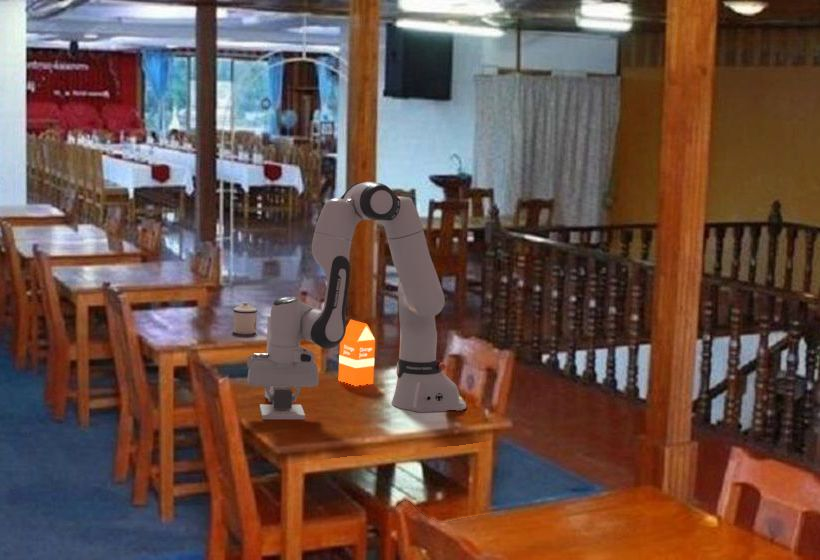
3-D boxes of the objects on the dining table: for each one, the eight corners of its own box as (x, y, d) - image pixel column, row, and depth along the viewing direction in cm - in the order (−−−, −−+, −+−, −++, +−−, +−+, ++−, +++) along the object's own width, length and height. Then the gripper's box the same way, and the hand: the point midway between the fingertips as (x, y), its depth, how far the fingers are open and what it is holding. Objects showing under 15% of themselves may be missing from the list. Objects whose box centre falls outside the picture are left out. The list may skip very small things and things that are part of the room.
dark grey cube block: (291, 408, 343) (292, 390, 343) (273, 408, 343) (274, 390, 342) (290, 404, 348) (290, 386, 348) (272, 404, 347) (273, 386, 347)
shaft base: (300, 408, 353) (301, 392, 352) (305, 419, 341) (305, 403, 340) (259, 408, 350) (260, 392, 350) (262, 419, 339) (262, 403, 338)
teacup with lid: (259, 334, 461) (260, 304, 459) (237, 335, 457) (238, 304, 455) (249, 328, 471) (250, 298, 470) (227, 329, 467) (228, 299, 466)
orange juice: (354, 386, 384) (357, 324, 381) (337, 380, 390) (340, 320, 387) (373, 383, 389) (376, 322, 386) (356, 378, 395) (359, 318, 393)
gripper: (247, 355, 338) (246, 403, 340) (320, 356, 342) (318, 404, 344) (246, 351, 344) (245, 398, 346) (318, 352, 348) (316, 398, 350)
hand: (282, 401), depth 345 cm, fingers closed on dark grey cube block, 5 cm apart
